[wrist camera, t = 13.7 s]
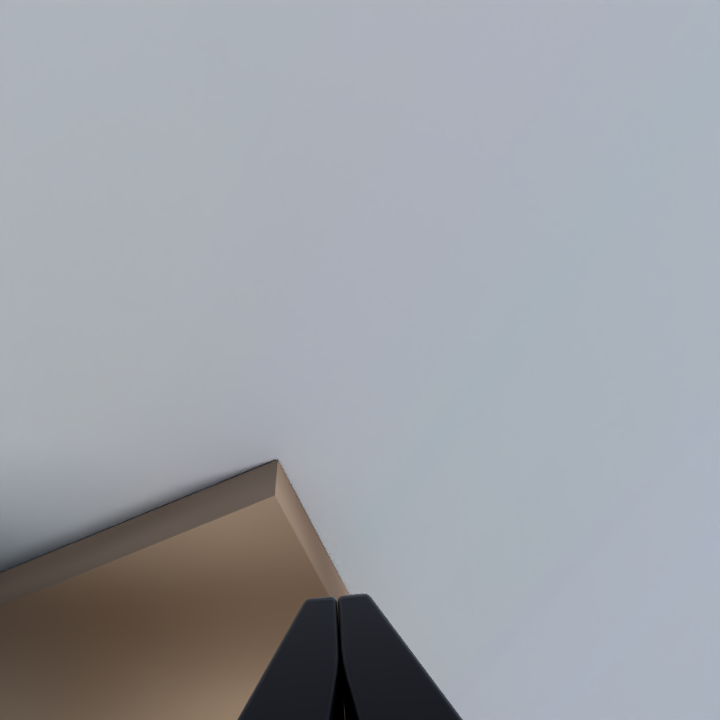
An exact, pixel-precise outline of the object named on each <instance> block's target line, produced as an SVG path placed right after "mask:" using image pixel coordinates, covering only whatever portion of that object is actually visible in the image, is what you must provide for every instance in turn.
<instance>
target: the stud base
mask: <svg viewBox="0 0 720 720" xmlns="http://www.w3.org/2000/svg"><path fill="white" fill-rule="evenodd" d="M343 595H349V593H348V591H347V589H346V587H345V585H344V583H343V582H342V580H341V578H340V576H339V574H338V572H337V570H336V568H335V566H334V565H333V563H332V561H331V559H330V557H329V555H328V553H327V551H326V549H325V547H324V546H323V544H322V542H321V540H320V538H319V536H318V534H317V532H316V530H315V528H314V527H313V525H312V523H311V521H310V519H309V517H308V515H307V513H306V511H305V510H304V508H303V506H302V504H301V502H300V500H299V498H298V496H297V494H296V492H295V491H294V489H293V487H292V485H291V483H290V481H289V479H288V477H287V475H286V473H285V472H284V470H283V468H282V466H281V464H280V462H279V460H275V461H273V462H270V463H268V464H265V465H263V466H260V467H258V468H256V469H253V470H251V471H248V472H246V473H243V474H241V475H238V476H236V477H234V478H231V479H229V480H226V481H224V482H221V483H219V484H216V485H214V486H211V487H209V488H207V489H204V490H202V491H199V492H197V493H194V494H192V495H189V496H187V497H185V498H182V499H180V500H177V501H175V502H172V503H170V504H167V505H165V506H163V507H160V508H158V509H155V510H153V511H150V512H148V513H145V514H143V515H140V516H138V517H136V518H133V519H131V520H128V521H126V522H123V523H121V524H118V525H116V526H114V527H111V528H109V529H106V530H104V531H101V532H99V533H96V534H94V535H92V536H89V537H87V538H84V539H82V540H79V541H77V542H74V543H72V544H70V545H67V546H65V547H62V548H60V549H57V550H55V551H52V552H50V553H47V554H45V555H43V556H40V557H38V558H35V559H33V560H30V561H28V562H25V563H23V564H21V565H18V566H16V567H13V568H11V569H8V570H6V571H3V572H1V573H0V720H237V719H238V718H239V716H240V714H241V712H242V710H243V709H244V707H245V705H246V703H247V702H248V700H249V698H250V696H251V695H252V693H253V691H254V689H255V688H256V686H257V684H258V682H259V680H260V679H261V677H262V675H263V673H264V672H265V670H266V668H267V666H268V665H269V663H270V661H271V659H272V658H273V656H274V654H275V652H276V650H277V649H278V647H279V645H280V643H281V642H282V640H283V638H284V636H285V635H286V633H287V631H288V629H289V628H290V626H291V624H292V622H293V620H294V619H295V617H296V615H297V613H298V612H299V610H300V608H301V606H302V605H303V603H304V602H305V600H307V599H309V598H319V597H330V596H331V597H334V598H336V600H337V606H338V599H339V597H340V596H343ZM338 621H339V619H338ZM344 713H345V712H344Z"/></svg>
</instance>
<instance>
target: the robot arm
mask: <svg viewBox="0 0 720 720" xmlns="http://www.w3.org/2000/svg"><path fill="white" fill-rule="evenodd" d="M338 619H339V621H338ZM344 712H345V713H344ZM237 720H462V718H461V717H460V716H459V714H458V713H457V712H456V710H455V709H454V708H453V706H452V705H451V704H450V702H449V701H448V700H447V698H446V697H445V696H444V694H443V693H442V692H441V690H440V689H439V688H438V686H437V685H436V684H435V682H434V681H433V680H432V678H431V677H430V676H429V674H428V673H427V672H426V670H425V669H424V668H423V666H422V665H421V664H420V662H419V661H418V660H417V658H416V657H415V656H414V654H413V653H412V652H411V650H410V649H409V648H408V646H407V645H406V644H405V642H404V641H403V640H402V638H401V637H400V636H399V634H398V633H397V632H396V630H395V629H394V628H393V626H392V625H391V624H390V622H389V621H388V620H387V618H386V617H385V615H384V614H383V613H382V611H381V610H380V609H379V607H378V606H377V605H376V603H375V602H374V601H373V599H372V598H371V597H370V596H369V595H367V594H354V595H343V596H340V597H339V599H338V606H337V600H336V598H334V597H331V596H330V597H319V598H309V599H307V600H305V602H304V603H303V605H302V606H301V608H300V610H299V612H298V613H297V615H296V617H295V619H294V620H293V622H292V624H291V626H290V628H289V629H288V631H287V633H286V635H285V636H284V638H283V640H282V642H281V643H280V645H279V647H278V649H277V650H276V652H275V654H274V656H273V658H272V659H271V661H270V663H269V665H268V666H267V668H266V670H265V672H264V673H263V675H262V677H261V679H260V680H259V682H258V684H257V686H256V688H255V689H254V691H253V693H252V695H251V696H250V698H249V700H248V702H247V703H246V705H245V707H244V709H243V710H242V712H241V714H240V716H239V718H238V719H237Z"/></svg>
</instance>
